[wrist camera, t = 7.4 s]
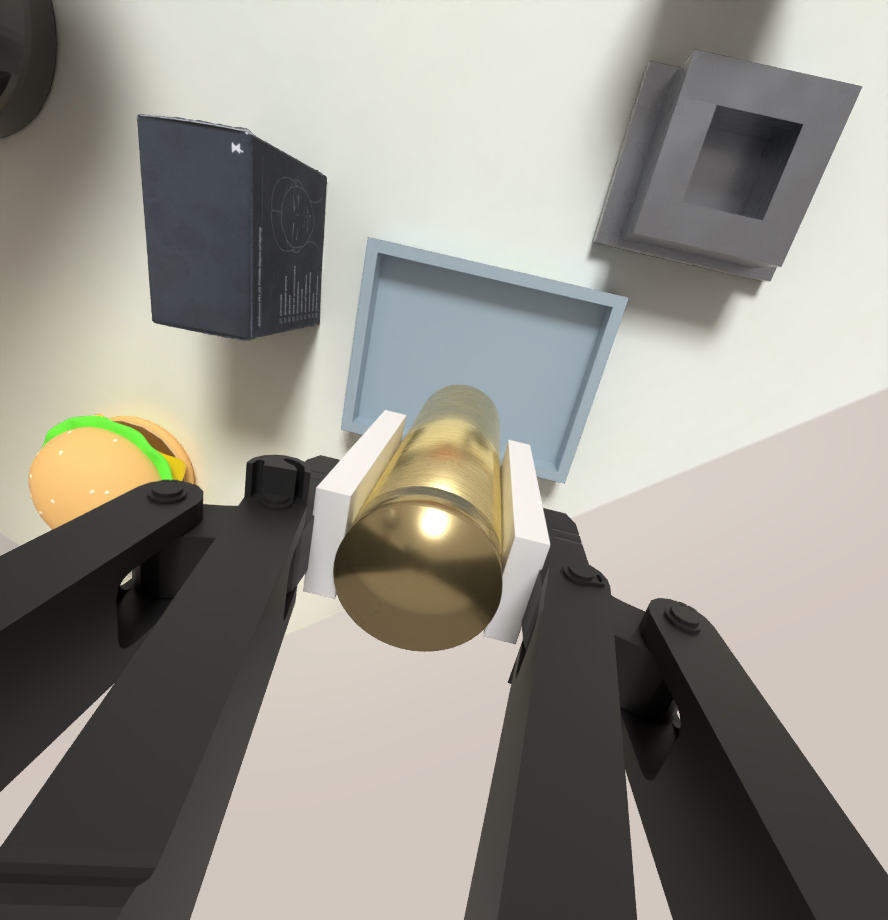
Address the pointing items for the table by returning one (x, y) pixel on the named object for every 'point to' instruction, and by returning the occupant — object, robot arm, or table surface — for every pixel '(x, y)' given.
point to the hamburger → (101, 464)
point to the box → (229, 230)
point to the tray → (479, 347)
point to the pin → (430, 531)
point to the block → (722, 162)
